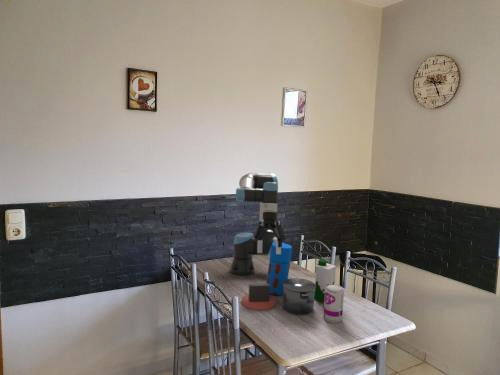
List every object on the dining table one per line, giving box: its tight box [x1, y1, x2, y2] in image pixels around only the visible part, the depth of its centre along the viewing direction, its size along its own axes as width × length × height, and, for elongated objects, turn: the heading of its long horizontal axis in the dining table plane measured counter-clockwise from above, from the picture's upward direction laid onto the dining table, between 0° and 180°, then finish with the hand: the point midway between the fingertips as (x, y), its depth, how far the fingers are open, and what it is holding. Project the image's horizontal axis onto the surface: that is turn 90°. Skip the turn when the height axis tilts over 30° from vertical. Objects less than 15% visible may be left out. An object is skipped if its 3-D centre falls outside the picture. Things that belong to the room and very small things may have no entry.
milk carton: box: [314, 259, 337, 304], centre depth 187 cm, size 9×9×20 cm
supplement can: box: [323, 284, 345, 324], centre depth 167 cm, size 8×8×15 cm
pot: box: [281, 277, 316, 316], centre depth 177 cm, size 21×16×12 cm
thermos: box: [266, 242, 293, 296], centre depth 195 cm, size 11×11×25 cm
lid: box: [241, 283, 277, 311], centre depth 181 cm, size 17×17×10 cm
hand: (268, 253), depth 188 cm, fingers open, 13 cm apart
